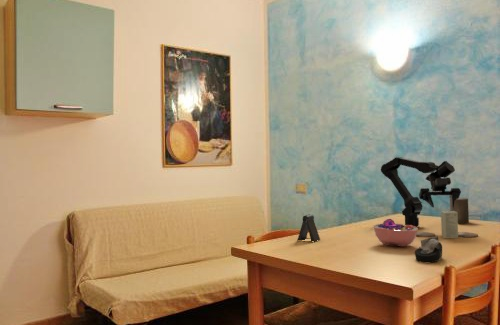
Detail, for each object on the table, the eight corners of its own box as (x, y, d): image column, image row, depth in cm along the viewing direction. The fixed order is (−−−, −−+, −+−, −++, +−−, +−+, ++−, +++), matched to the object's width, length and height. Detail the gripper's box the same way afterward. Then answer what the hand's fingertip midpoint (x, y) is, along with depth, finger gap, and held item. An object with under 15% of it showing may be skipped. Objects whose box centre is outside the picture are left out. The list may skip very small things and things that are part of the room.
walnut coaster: (451, 236, 203) (451, 235, 203) (453, 232, 213) (453, 231, 213) (477, 238, 198) (477, 236, 198) (478, 234, 207) (478, 232, 207)
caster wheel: (423, 270, 156) (410, 259, 166) (454, 262, 156) (439, 252, 166) (420, 252, 154) (407, 242, 165) (451, 244, 155) (437, 235, 165)
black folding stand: (320, 240, 202) (319, 214, 202) (314, 242, 198) (314, 216, 197) (303, 238, 208) (302, 213, 207) (297, 240, 203) (296, 215, 203)
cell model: (399, 252, 173) (398, 224, 173) (364, 244, 191) (364, 218, 191) (428, 247, 181) (428, 220, 181) (392, 239, 199) (392, 215, 199)
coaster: (409, 236, 207) (409, 234, 207) (412, 232, 216) (412, 231, 216) (433, 237, 201) (433, 236, 201) (436, 233, 211) (436, 232, 211)
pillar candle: (472, 223, 238) (471, 196, 238) (454, 224, 238) (453, 197, 238) (463, 221, 248) (463, 195, 248) (446, 221, 248) (446, 195, 248)
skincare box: (454, 236, 203) (454, 210, 203) (458, 238, 199) (458, 212, 198) (441, 236, 204) (440, 211, 203) (444, 238, 199) (443, 212, 199)
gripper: (420, 172, 215) (426, 196, 204) (459, 171, 212) (467, 196, 202) (416, 186, 223) (422, 210, 212) (454, 186, 220) (462, 210, 210)
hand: (443, 207), depth 209 cm, fingers open, 9 cm apart
